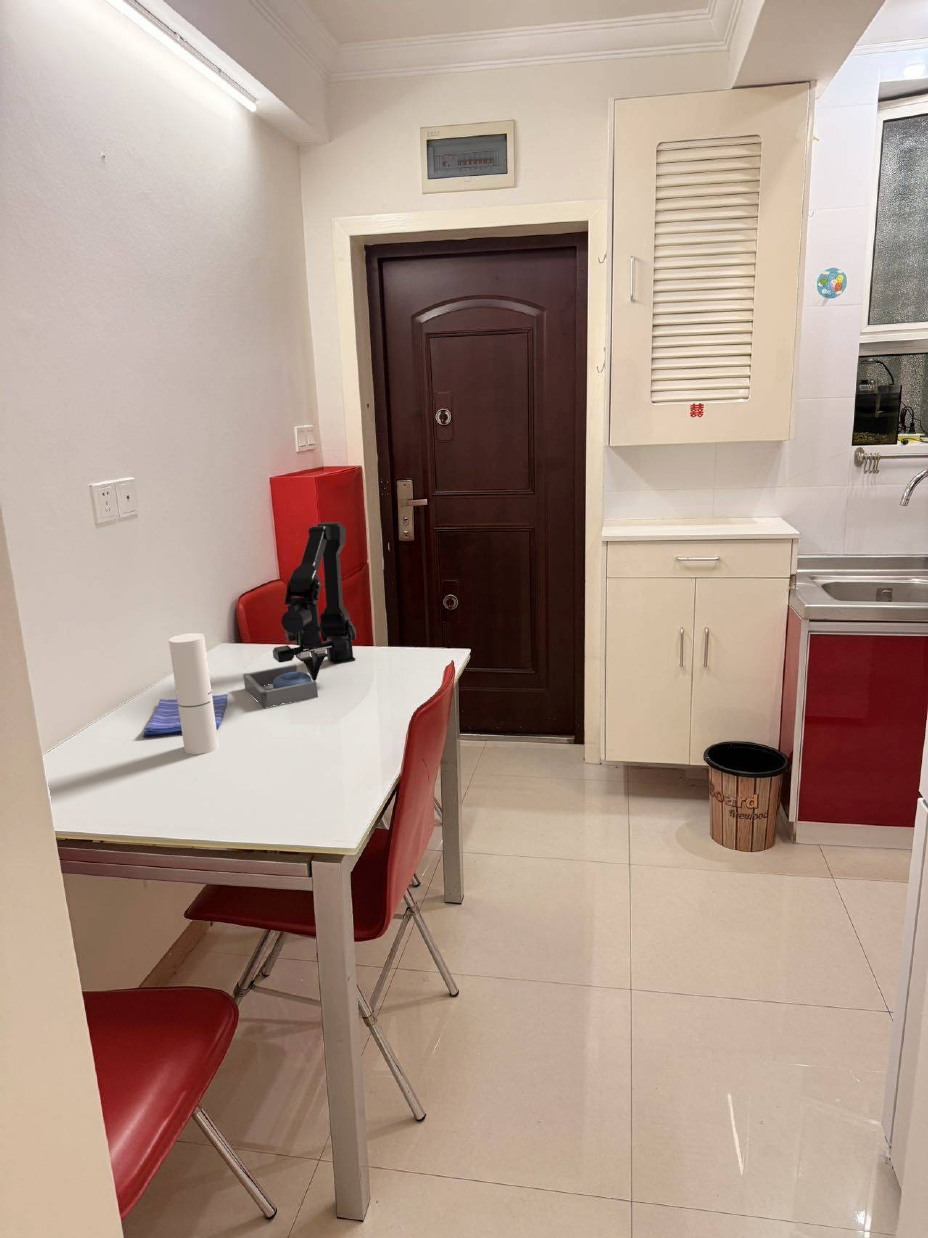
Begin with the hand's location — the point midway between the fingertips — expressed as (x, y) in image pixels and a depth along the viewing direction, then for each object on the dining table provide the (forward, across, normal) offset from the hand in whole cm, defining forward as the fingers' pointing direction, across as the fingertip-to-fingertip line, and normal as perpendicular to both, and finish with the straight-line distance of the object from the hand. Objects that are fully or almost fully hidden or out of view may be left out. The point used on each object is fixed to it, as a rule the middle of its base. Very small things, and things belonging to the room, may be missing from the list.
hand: (314, 680), depth 221 cm
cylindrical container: (+2, +34, +26) cm, 43 cm away
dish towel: (+2, +33, +4) cm, 33 cm away
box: (+2, +9, 0) cm, 9 cm away
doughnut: (+2, +6, 0) cm, 6 cm away
